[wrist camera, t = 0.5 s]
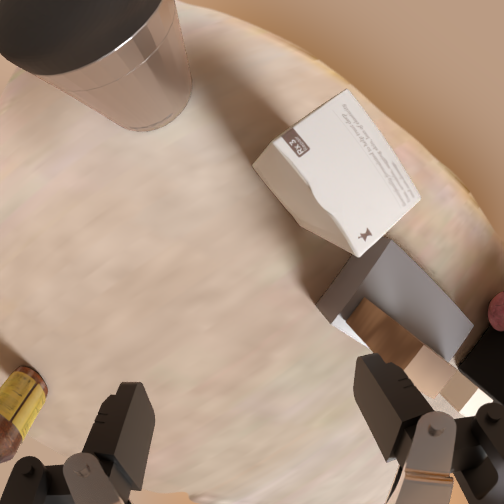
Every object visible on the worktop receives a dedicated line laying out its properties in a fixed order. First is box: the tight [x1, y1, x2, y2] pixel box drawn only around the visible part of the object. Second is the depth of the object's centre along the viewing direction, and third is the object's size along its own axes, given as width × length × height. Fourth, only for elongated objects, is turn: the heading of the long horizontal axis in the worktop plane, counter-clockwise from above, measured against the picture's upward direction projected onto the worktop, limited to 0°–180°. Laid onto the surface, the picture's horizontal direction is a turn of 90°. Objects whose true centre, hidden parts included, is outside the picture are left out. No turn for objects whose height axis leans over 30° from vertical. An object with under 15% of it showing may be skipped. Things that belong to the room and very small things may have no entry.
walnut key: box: [346, 297, 457, 399], centre depth 23 cm, size 3×6×10 cm, turn 54°
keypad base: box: [316, 237, 474, 362], centre depth 32 cm, size 10×20×5 cm, turn 54°
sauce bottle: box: [0, 366, 48, 463], centre depth 21 cm, size 6×6×20 cm
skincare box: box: [252, 89, 421, 257], centre depth 22 cm, size 8×6×15 cm
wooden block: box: [426, 345, 493, 417], centre depth 26 cm, size 3×6×10 cm, turn 55°
